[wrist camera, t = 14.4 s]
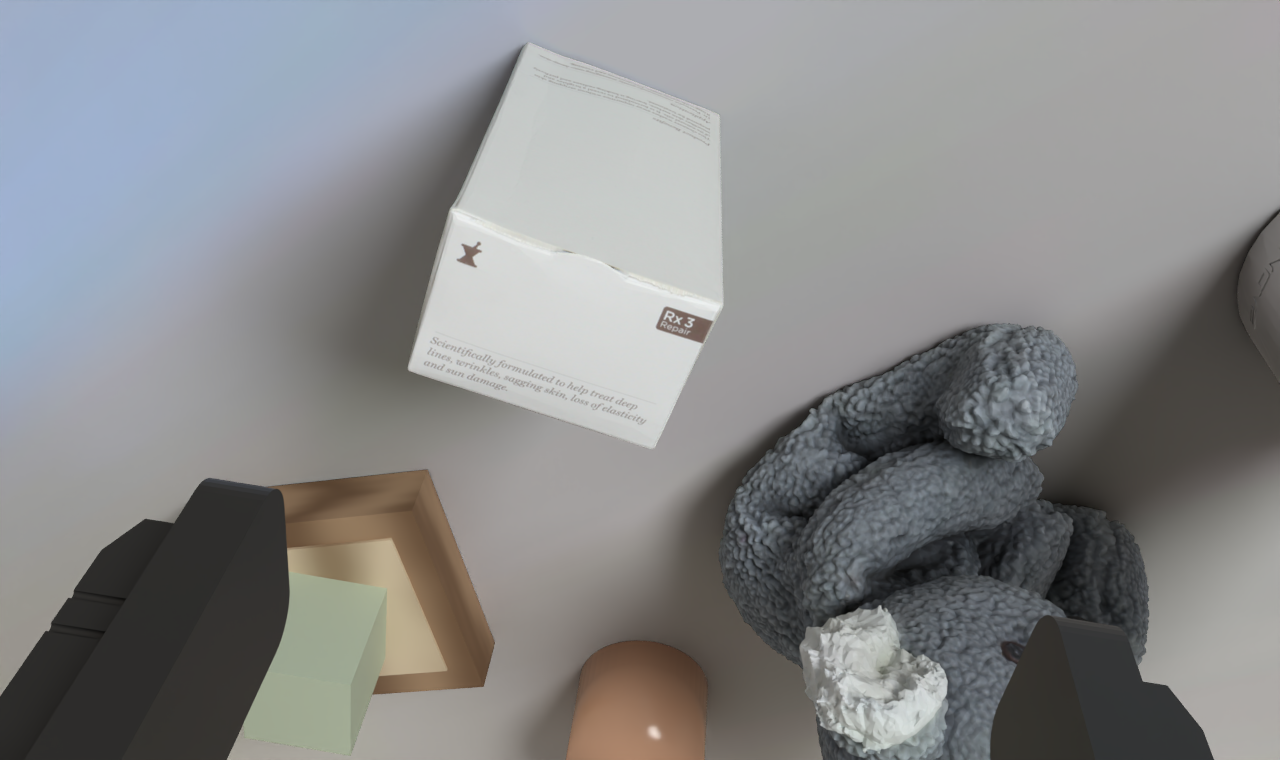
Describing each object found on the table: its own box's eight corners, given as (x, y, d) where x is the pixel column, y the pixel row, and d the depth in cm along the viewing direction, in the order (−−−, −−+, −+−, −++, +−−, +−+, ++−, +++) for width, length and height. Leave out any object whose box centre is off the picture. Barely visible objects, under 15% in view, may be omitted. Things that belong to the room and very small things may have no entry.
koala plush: (1149, 567, 55) (1305, 971, 39) (798, 662, 61) (809, 1047, 45) (1043, 277, 47) (1184, 637, 31) (650, 419, 53) (599, 783, 37)
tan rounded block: (719, 652, 61) (714, 746, 56) (696, 736, 65) (690, 830, 60) (588, 630, 61) (572, 721, 56) (573, 715, 65) (557, 807, 60)
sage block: (387, 588, 56) (350, 685, 51) (385, 657, 59) (350, 755, 54) (285, 571, 56) (238, 666, 51) (288, 641, 59) (244, 737, 54)
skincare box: (485, 167, 46) (384, 376, 34) (529, 28, 43) (434, 204, 31) (680, 240, 48) (649, 467, 35) (737, 109, 44) (726, 311, 32)
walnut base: (427, 469, 56) (411, 512, 53) (494, 642, 62) (483, 688, 60) (201, 494, 58) (175, 536, 55) (289, 659, 64) (269, 703, 62)
